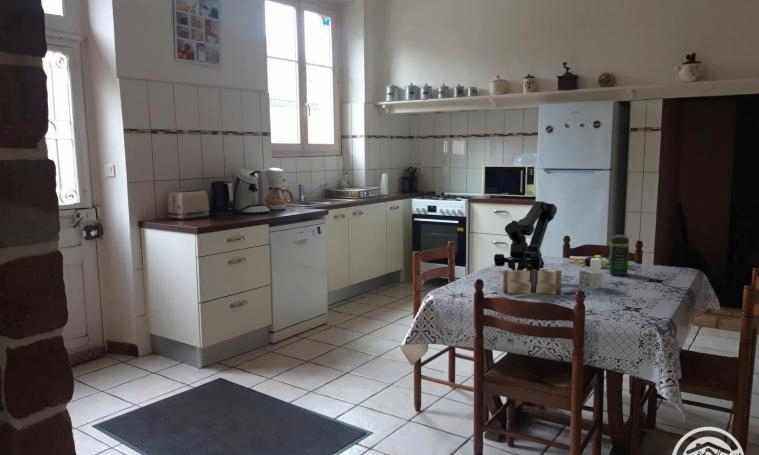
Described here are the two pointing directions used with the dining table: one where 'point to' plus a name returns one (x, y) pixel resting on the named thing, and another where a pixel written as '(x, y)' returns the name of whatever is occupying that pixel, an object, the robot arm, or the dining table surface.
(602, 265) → the shape sorter
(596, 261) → the container
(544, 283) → the fixed fence section
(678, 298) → the dining table surface
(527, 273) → the hinged fence panel
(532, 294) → the card
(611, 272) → the coffee jar
